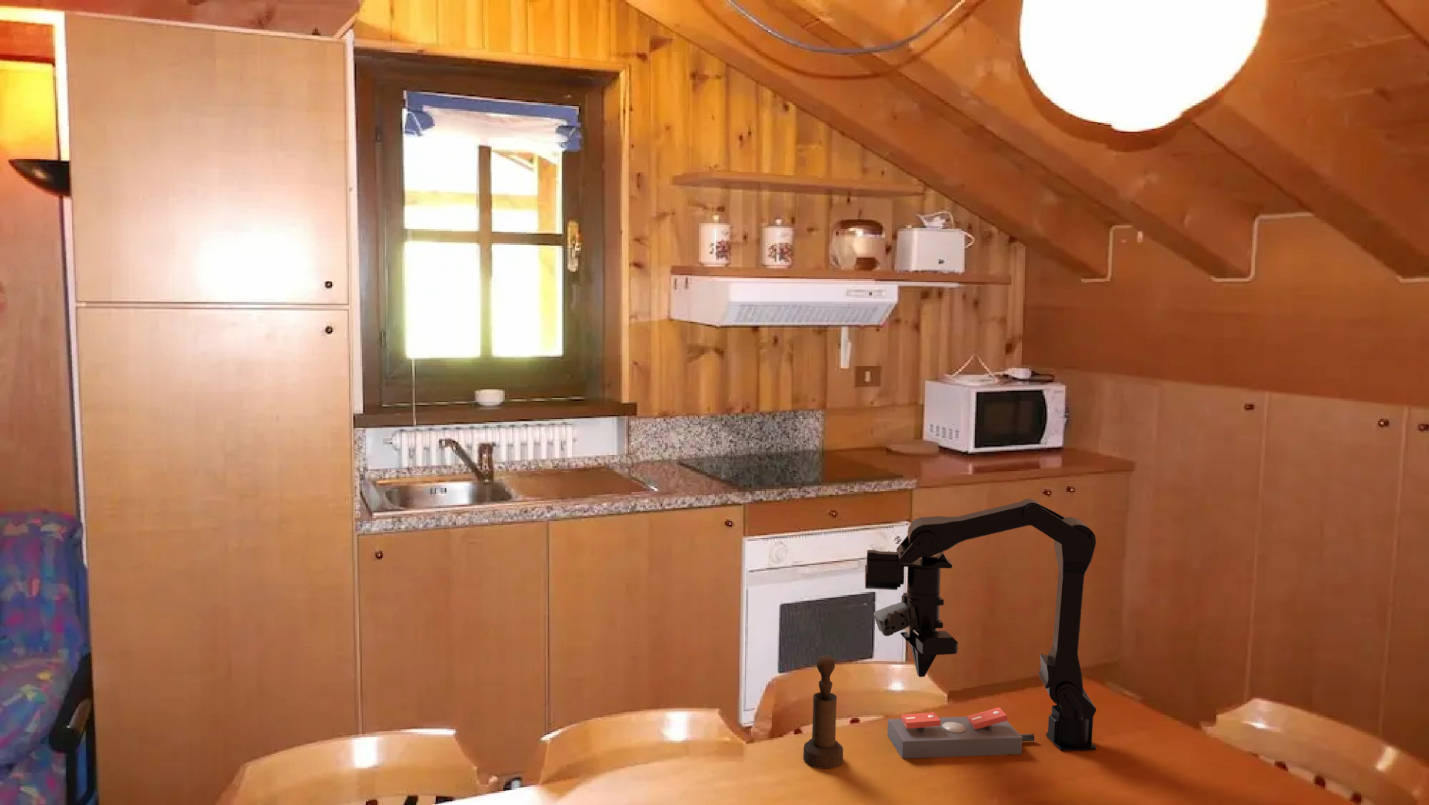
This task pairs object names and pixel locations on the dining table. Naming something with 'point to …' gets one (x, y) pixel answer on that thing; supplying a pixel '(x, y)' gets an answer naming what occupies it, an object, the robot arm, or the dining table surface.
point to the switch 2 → (987, 718)
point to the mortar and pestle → (824, 722)
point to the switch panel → (955, 739)
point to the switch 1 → (920, 720)
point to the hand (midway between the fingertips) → (921, 676)
